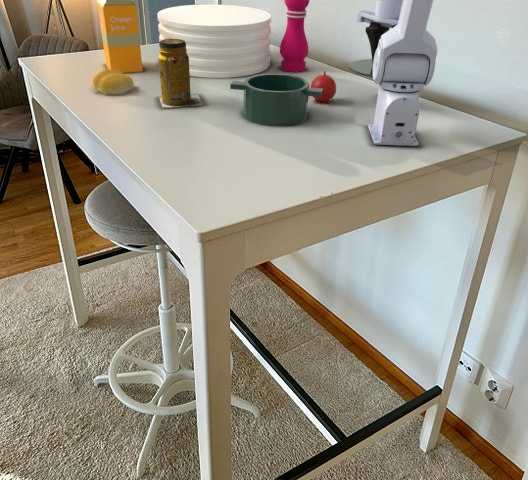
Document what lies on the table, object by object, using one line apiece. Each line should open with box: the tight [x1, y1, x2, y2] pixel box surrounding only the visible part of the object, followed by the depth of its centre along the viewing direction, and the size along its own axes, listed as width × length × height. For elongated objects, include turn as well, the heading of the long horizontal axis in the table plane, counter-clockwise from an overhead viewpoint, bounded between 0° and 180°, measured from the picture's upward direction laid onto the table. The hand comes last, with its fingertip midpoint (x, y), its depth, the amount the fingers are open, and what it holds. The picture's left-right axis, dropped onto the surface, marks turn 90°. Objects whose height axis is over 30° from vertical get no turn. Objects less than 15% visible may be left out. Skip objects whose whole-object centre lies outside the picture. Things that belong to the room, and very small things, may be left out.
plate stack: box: [157, 3, 272, 79], centre depth 138 cm, size 28×28×12 cm
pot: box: [229, 73, 323, 127], centre depth 108 cm, size 13×18×6 cm
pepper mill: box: [279, 0, 310, 73], centre depth 133 cm, size 7×7×20 cm
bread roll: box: [92, 68, 134, 96], centre depth 120 cm, size 8×9×4 cm
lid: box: [348, 58, 373, 79], centre depth 114 cm, size 14×14×5 cm
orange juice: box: [96, 0, 144, 74], centre depth 130 cm, size 8×9×20 cm
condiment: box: [158, 39, 204, 108], centre depth 112 cm, size 7×8×12 cm
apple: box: [309, 70, 337, 105], centre depth 116 cm, size 6×6×6 cm
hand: (382, 64), depth 114 cm, fingers closed on lid, 2 cm apart
